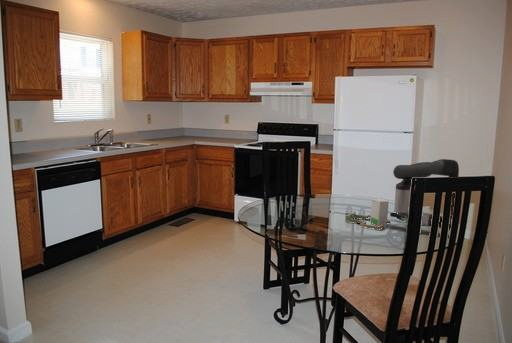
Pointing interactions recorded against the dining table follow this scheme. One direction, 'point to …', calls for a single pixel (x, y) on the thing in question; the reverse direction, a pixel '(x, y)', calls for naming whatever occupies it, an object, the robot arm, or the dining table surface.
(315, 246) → the dining table surface
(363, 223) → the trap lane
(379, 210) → the skincare box
